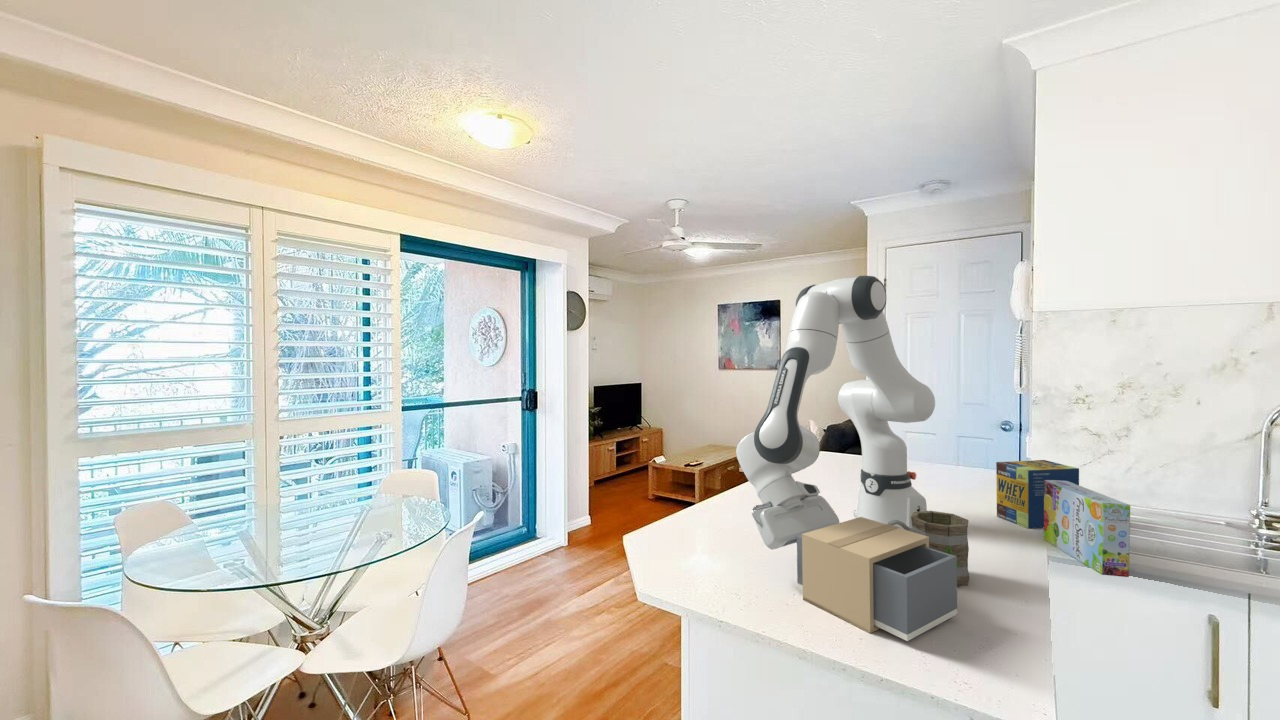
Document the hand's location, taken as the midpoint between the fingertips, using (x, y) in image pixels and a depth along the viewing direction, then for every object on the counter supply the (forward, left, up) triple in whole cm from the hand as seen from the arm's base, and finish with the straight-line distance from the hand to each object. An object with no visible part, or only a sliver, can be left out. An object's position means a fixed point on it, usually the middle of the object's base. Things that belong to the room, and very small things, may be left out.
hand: (820, 558), depth 103 cm
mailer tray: (0, +12, -5) cm, 13 cm away
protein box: (-79, +8, -5) cm, 80 cm away
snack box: (-59, +24, -5) cm, 64 cm away
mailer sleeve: (0, +10, -5) cm, 11 cm away
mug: (-21, +10, -5) cm, 24 cm away
